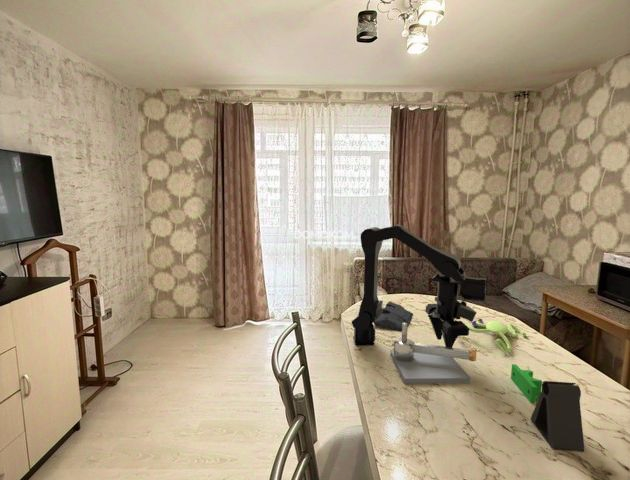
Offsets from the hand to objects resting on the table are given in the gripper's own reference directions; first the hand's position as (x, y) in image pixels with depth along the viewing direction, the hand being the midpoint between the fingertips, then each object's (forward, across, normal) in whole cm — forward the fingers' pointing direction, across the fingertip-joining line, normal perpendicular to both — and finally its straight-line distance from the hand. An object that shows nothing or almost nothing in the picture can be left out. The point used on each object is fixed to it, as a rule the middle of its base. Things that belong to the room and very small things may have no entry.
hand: (443, 344), depth 105 cm
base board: (+5, -6, +7) cm, 10 cm away
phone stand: (+4, -34, -11) cm, 36 cm away
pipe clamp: (+5, -18, -15) cm, 24 cm away
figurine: (+5, +14, -23) cm, 27 cm away
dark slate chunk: (+6, +33, +8) cm, 34 cm away
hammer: (+3, -4, +5) cm, 7 cm away
